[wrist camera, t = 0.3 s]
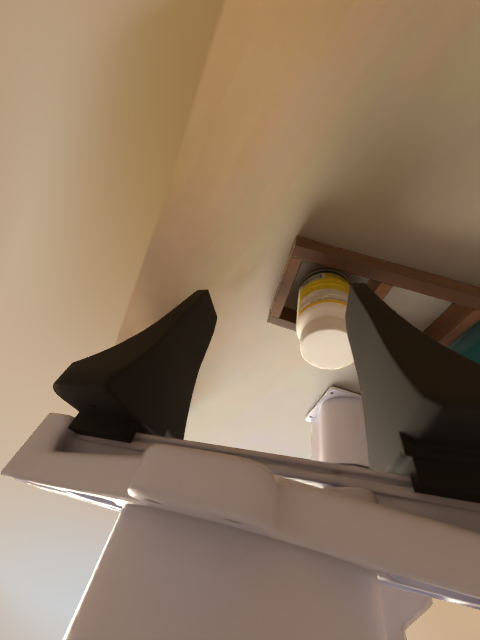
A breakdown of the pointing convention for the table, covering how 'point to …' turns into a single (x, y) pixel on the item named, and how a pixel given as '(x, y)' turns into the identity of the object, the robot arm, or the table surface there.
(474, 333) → the tray
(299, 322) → the supplement bottle
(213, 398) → the table surface
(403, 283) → the frame
